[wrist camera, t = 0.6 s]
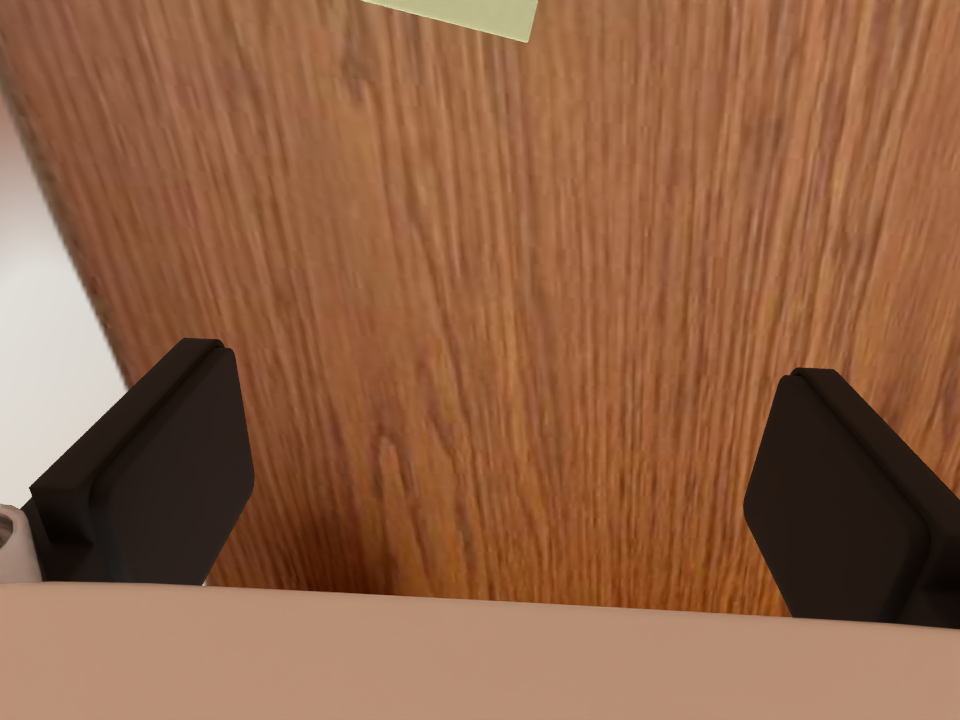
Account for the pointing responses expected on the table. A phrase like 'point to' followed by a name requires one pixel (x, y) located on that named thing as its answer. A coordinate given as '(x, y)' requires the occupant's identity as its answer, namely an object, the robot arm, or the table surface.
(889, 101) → the table surface
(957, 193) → the table surface
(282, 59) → the table surface
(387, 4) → the sticky note pad
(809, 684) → the robot arm
